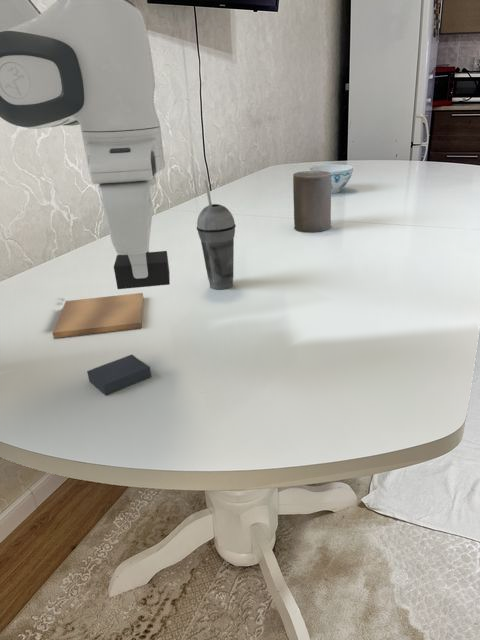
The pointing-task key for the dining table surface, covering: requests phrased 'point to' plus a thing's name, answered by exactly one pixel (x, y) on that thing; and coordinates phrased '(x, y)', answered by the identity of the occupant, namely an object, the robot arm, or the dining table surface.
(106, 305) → the cork mat
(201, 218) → the beverage cup
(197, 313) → the dining table surface
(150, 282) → the pad bottom
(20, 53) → the robot arm
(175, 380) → the dining table surface
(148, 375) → the pad top
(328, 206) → the pillar candle
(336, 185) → the chinaware
